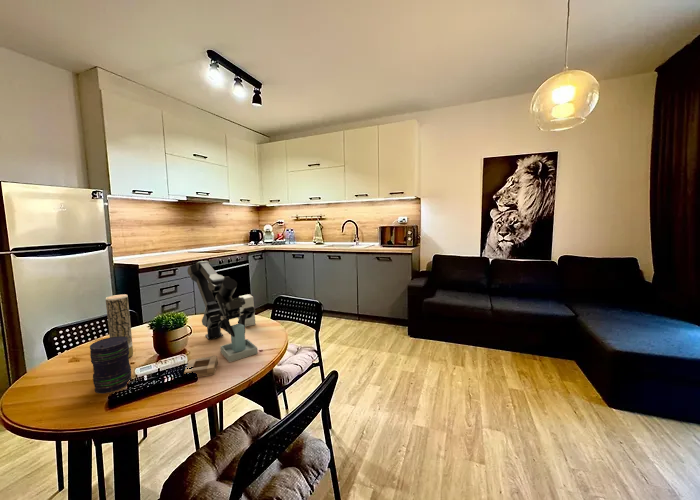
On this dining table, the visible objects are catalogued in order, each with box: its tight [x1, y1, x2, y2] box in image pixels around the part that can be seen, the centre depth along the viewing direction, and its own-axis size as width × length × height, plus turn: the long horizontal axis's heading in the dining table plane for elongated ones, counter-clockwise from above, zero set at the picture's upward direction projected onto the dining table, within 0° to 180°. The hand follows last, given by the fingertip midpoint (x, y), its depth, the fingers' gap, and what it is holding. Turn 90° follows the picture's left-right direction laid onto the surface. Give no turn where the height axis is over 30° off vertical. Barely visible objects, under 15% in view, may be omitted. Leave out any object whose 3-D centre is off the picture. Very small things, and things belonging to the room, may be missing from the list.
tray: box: [219, 338, 258, 363], centre depth 119 cm, size 11×11×3 cm
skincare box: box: [238, 293, 256, 328], centre depth 152 cm, size 8×6×15 cm
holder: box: [183, 355, 219, 378], centre depth 106 cm, size 9×9×2 cm
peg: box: [230, 323, 246, 352], centre depth 118 cm, size 4×4×10 cm
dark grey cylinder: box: [89, 336, 133, 395], centre depth 96 cm, size 10×10×15 cm
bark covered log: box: [105, 293, 134, 358], centre depth 115 cm, size 7×7×25 cm
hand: (239, 334), depth 117 cm, fingers closed on peg, 4 cm apart
